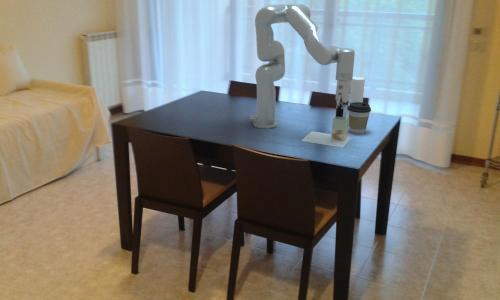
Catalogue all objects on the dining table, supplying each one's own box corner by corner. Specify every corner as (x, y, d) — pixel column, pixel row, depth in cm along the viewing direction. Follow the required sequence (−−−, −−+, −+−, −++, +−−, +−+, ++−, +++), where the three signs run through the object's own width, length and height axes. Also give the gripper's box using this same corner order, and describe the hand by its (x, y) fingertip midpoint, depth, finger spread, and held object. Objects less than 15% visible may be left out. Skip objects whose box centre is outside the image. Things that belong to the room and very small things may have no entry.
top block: (332, 128, 225) (332, 118, 224) (335, 125, 230) (336, 115, 229) (344, 130, 223) (345, 120, 221) (348, 127, 228) (348, 117, 226)
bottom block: (331, 139, 227) (332, 128, 225) (334, 135, 232) (335, 125, 230) (343, 140, 225) (344, 130, 223) (347, 137, 230) (348, 127, 228)
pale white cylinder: (334, 118, 224) (335, 105, 222) (337, 115, 228) (338, 103, 226) (344, 119, 222) (345, 107, 220) (347, 116, 226) (348, 104, 224)
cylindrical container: (351, 122, 258) (355, 76, 249) (363, 125, 253) (367, 78, 244) (343, 125, 253) (347, 78, 244) (355, 128, 248) (359, 80, 239)
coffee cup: (369, 138, 234) (372, 108, 228) (345, 136, 235) (347, 106, 230) (368, 131, 244) (371, 102, 239) (345, 129, 246) (347, 101, 241)
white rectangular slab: (300, 143, 225) (300, 140, 224) (311, 134, 238) (311, 131, 238) (342, 150, 217) (343, 147, 216) (351, 140, 230) (351, 137, 230)
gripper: (347, 80, 210) (344, 120, 216) (357, 74, 224) (353, 111, 230) (330, 79, 212) (327, 118, 219) (341, 72, 227) (338, 109, 233)
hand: (341, 114), depth 224 cm, fingers open, 5 cm apart
